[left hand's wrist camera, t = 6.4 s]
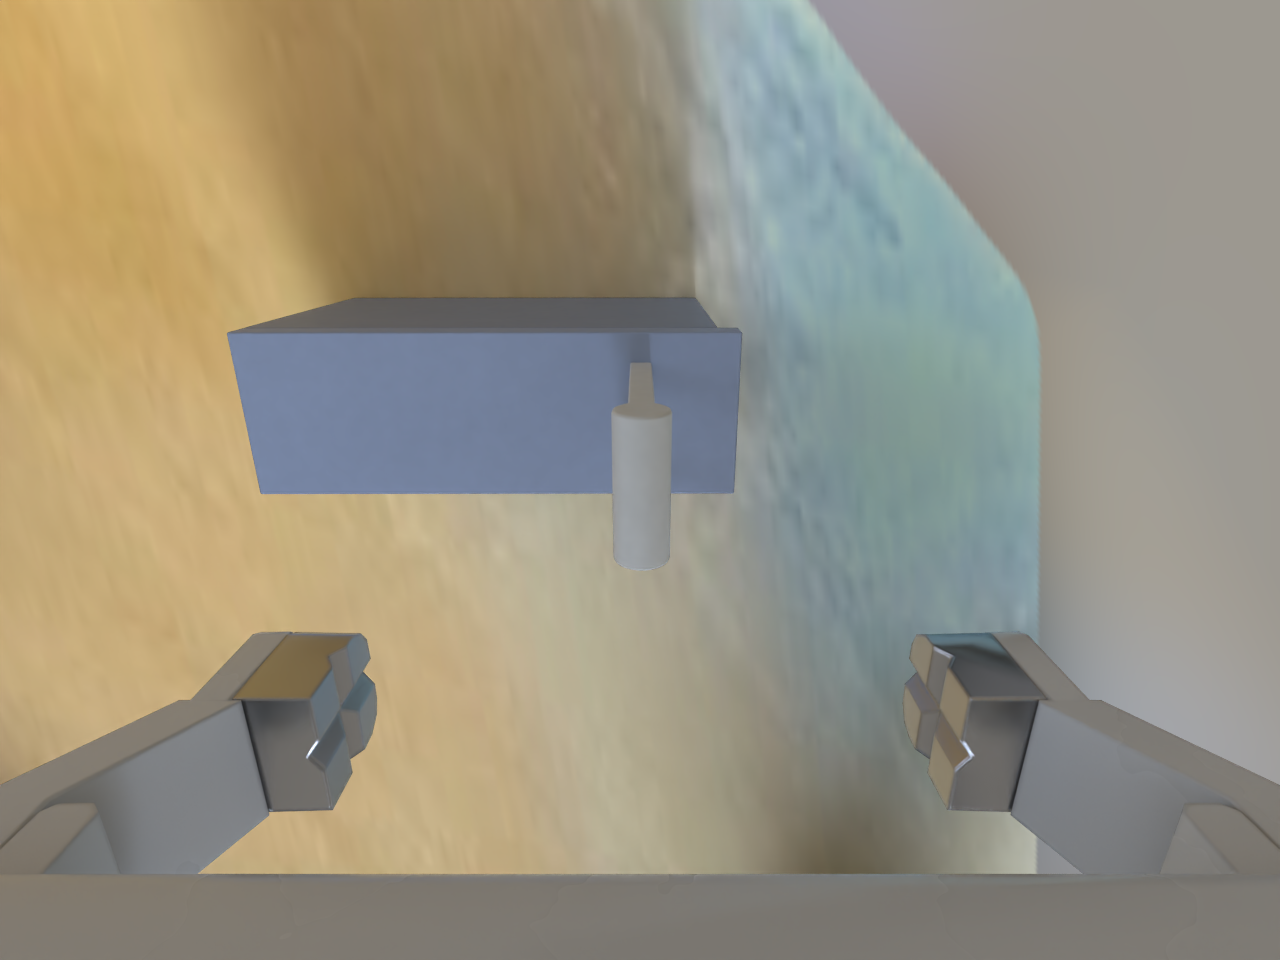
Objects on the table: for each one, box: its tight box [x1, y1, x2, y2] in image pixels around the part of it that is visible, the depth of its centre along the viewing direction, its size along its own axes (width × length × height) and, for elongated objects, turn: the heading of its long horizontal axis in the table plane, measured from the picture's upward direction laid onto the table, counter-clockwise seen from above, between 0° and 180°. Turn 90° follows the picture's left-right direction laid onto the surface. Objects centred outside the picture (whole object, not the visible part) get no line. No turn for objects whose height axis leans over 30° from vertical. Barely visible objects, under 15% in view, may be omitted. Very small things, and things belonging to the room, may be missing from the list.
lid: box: [227, 328, 742, 570], centre depth 20 cm, size 17×6×8 cm, turn 90°
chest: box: [246, 298, 717, 328], centre depth 29 cm, size 16×6×10 cm, turn 90°
